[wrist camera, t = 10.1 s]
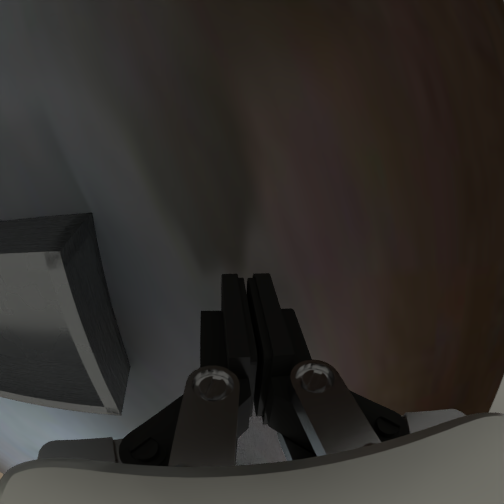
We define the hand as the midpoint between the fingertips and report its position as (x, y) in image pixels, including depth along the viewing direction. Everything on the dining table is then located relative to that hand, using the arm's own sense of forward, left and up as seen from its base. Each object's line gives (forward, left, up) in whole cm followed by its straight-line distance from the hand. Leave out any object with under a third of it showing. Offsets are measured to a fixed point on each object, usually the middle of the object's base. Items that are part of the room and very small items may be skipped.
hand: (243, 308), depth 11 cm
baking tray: (-1, +14, -1) cm, 15 cm away
